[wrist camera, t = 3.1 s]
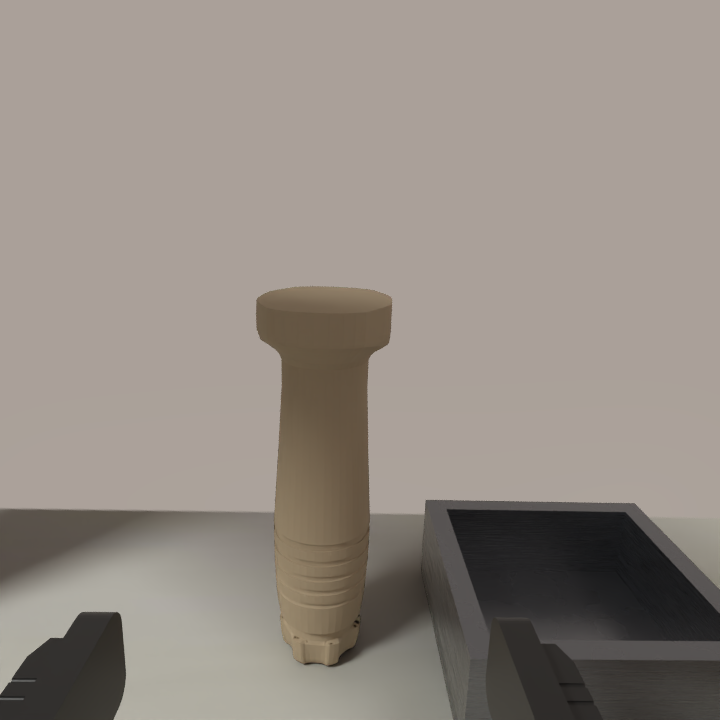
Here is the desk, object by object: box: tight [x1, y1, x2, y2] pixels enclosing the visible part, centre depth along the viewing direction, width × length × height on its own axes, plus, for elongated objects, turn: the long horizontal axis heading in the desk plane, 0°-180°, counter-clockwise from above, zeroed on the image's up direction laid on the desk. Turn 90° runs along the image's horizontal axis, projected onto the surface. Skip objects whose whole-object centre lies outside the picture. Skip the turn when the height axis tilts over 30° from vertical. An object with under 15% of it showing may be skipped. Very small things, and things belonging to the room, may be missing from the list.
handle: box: [256, 286, 392, 666], centre depth 23 cm, size 5×6×15 cm
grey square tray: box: [421, 500, 720, 720], centre depth 25 cm, size 11×11×4 cm
